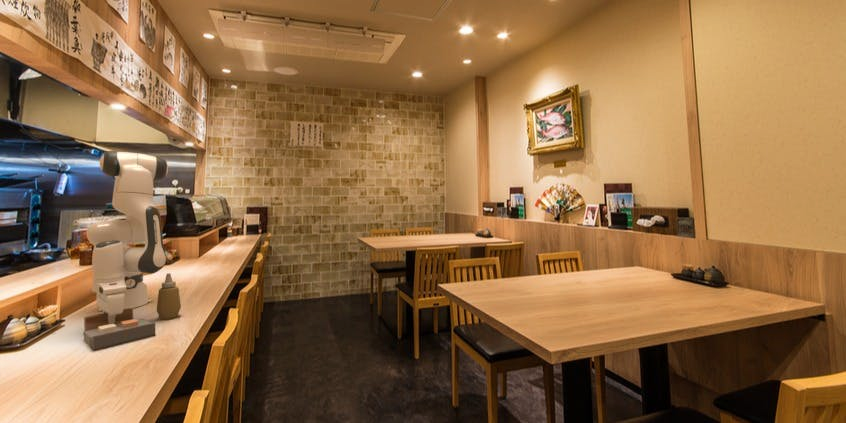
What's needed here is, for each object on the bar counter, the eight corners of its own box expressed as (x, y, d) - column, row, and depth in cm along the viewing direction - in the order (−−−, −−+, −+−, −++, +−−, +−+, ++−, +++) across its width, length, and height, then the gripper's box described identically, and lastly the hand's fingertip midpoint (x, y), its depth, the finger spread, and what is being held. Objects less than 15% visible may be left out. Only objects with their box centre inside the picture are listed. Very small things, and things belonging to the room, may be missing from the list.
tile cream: (98, 331, 119) (98, 326, 118) (113, 327, 122) (113, 323, 122) (101, 333, 116) (101, 329, 116) (116, 330, 119) (116, 325, 119)
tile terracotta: (120, 326, 123) (120, 321, 123) (135, 322, 127) (134, 318, 127) (124, 328, 121) (124, 324, 121) (138, 325, 124) (138, 321, 124)
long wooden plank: (84, 333, 124) (84, 316, 124) (130, 323, 135) (130, 308, 134) (86, 335, 122) (86, 318, 122) (133, 325, 133) (132, 309, 133)
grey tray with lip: (83, 340, 118) (83, 327, 118) (142, 326, 131) (142, 314, 131) (94, 351, 110) (93, 337, 110) (155, 335, 123) (155, 323, 122)
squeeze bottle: (185, 314, 145) (185, 271, 145) (170, 321, 137) (169, 276, 137) (168, 313, 146) (167, 271, 146) (151, 320, 138) (150, 275, 138)
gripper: (90, 282, 132) (91, 318, 132) (104, 290, 120) (105, 330, 120) (112, 279, 137) (113, 314, 137) (128, 287, 125) (128, 325, 125)
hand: (109, 322), depth 128 cm, fingers closed on long wooden plank, 3 cm apart
